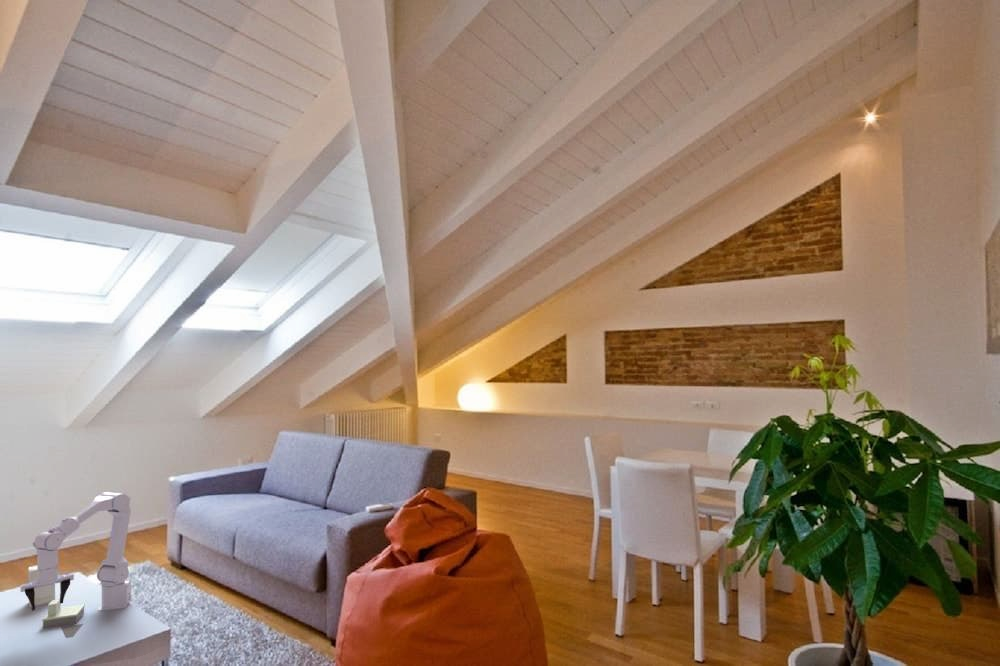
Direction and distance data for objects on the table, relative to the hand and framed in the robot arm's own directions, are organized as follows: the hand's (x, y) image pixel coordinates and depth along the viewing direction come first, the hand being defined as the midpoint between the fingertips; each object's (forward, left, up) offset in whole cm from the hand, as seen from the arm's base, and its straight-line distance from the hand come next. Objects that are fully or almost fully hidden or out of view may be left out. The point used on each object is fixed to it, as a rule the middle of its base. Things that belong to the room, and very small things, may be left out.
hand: (47, 606), depth 197 cm
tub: (-1, -10, -10) cm, 15 cm away
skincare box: (+13, -31, -11) cm, 35 cm away
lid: (-1, -10, -7) cm, 13 cm away
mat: (-3, 0, -10) cm, 11 cm away
